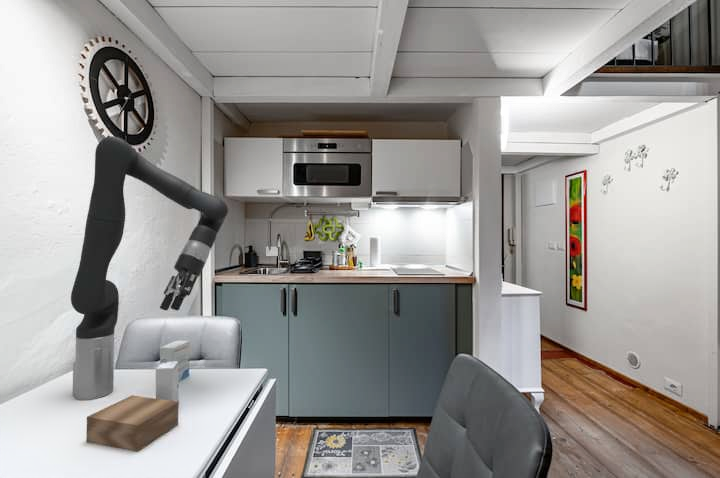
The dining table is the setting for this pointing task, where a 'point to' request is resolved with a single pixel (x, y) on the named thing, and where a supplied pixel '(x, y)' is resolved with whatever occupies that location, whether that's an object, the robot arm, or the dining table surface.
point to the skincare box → (167, 381)
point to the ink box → (177, 356)
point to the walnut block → (132, 422)
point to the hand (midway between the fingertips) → (168, 309)
